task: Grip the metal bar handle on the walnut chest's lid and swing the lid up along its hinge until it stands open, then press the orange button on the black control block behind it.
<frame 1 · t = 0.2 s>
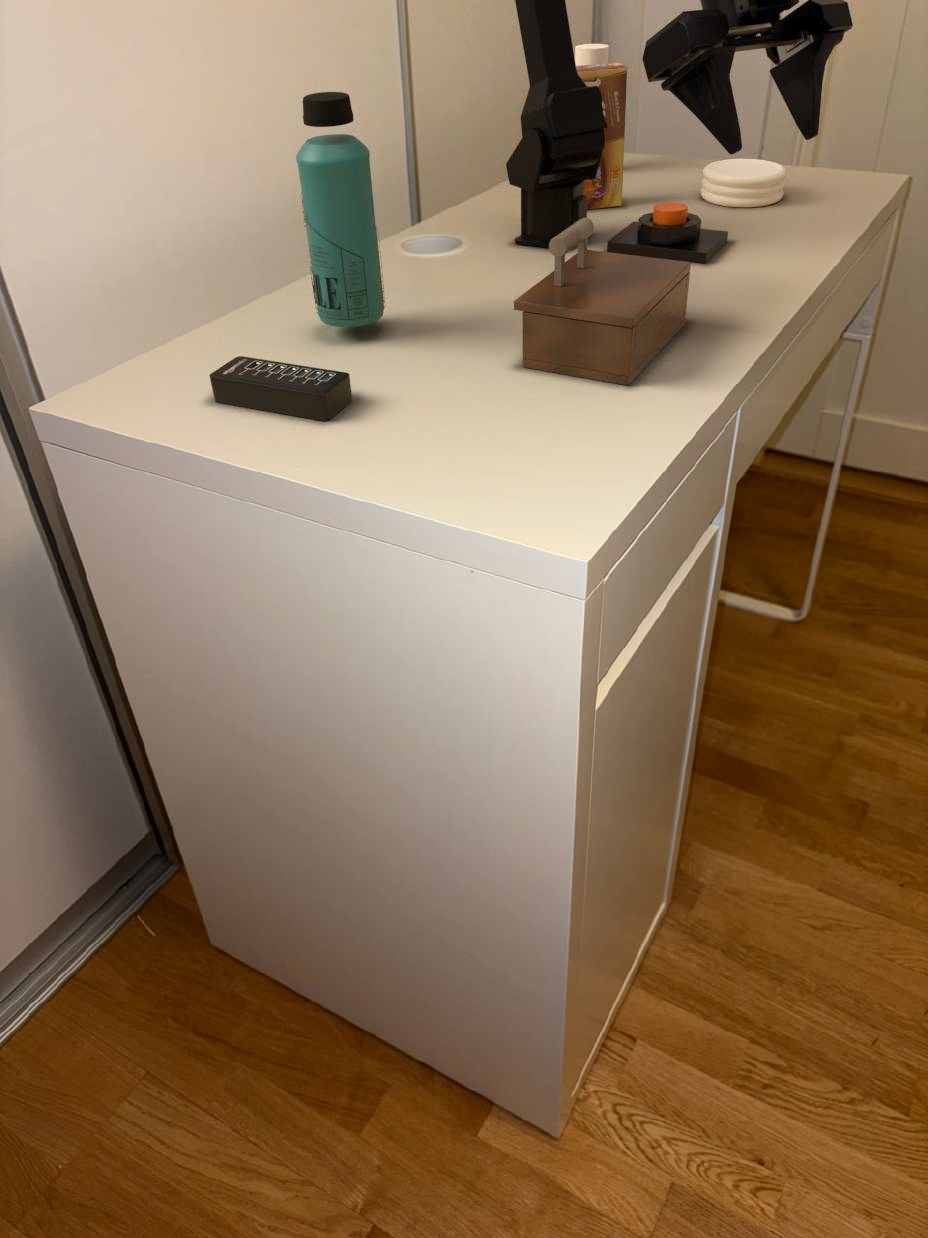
hand: (775, 144, 82), 15 cm above the table, tool tilted 30°, fingers open, 9 cm apart
candy box: (582, 207, 123), on the table
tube: (587, 172, 136), on the table
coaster: (740, 199, 123), on the table
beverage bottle: (352, 332, 93), on the table
control block: (667, 247, 109), on the table
multiport hub: (283, 402, 81), on the table
chest: (606, 344, 88), on the table
chest lid: (606, 260, 84), point 7 cm above the table, hinge at 0.0°
power button: (670, 214, 107), point 3 cm above the table, slide at 0.1 cm
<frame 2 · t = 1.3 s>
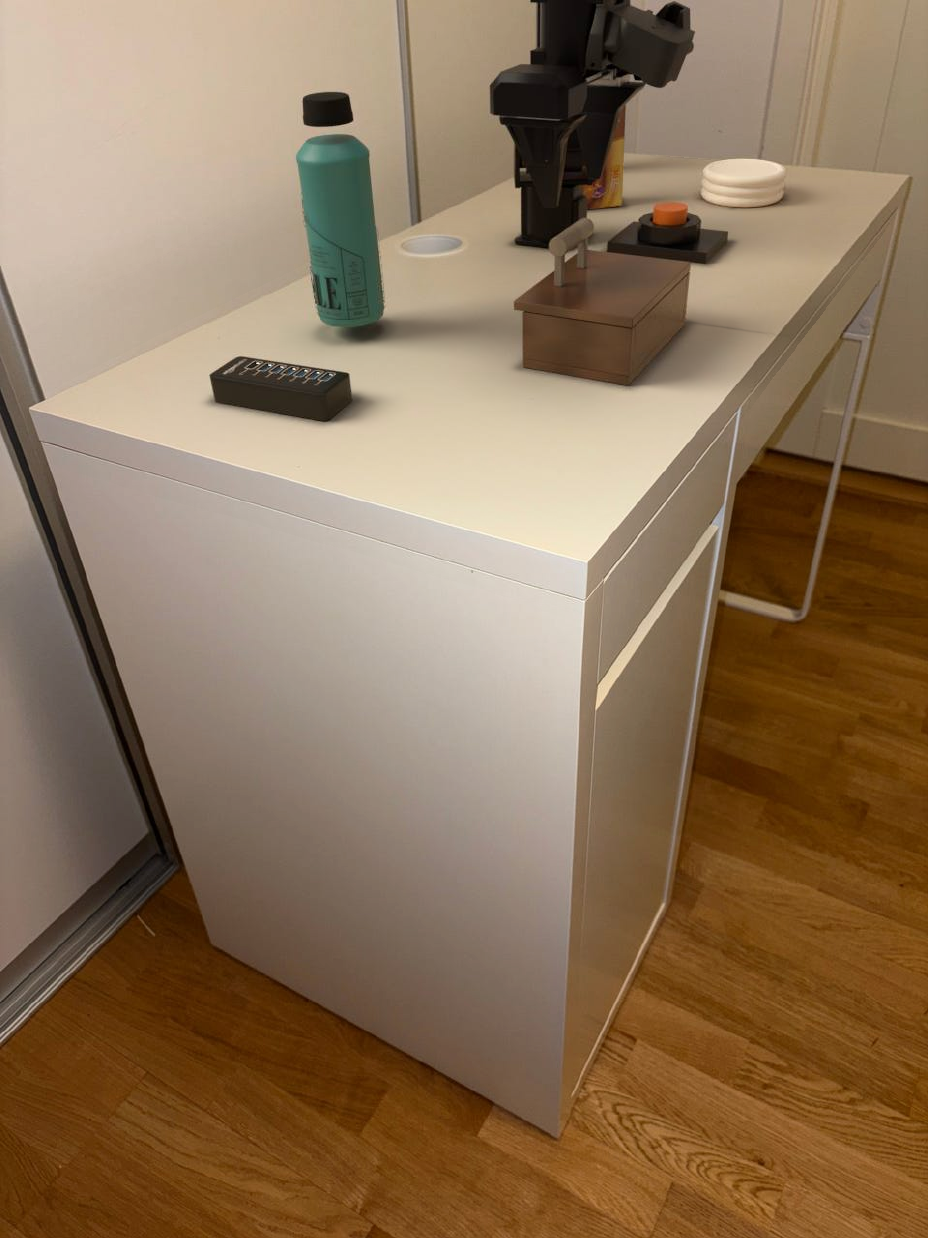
hand: (573, 192, 82), 13 cm above the table, tool pointing down, fingers open, 9 cm apart
nothing on the table moved.
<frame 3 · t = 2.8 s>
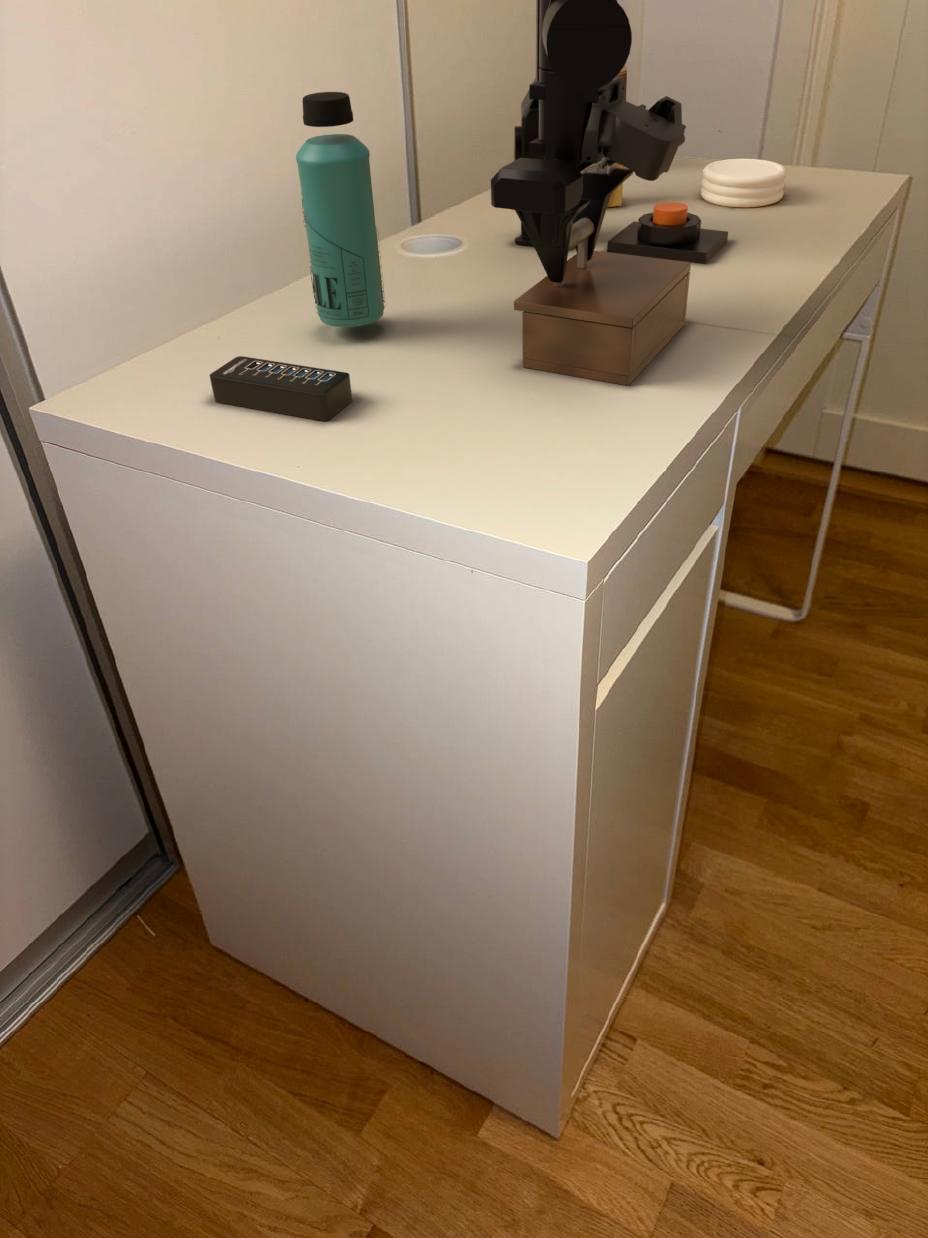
hand: (570, 270, 86), 6 cm above the table, tool pointing down, fingers closed on chest lid, 6 cm apart
chest lid: (606, 260, 84), point 7 cm above the table, hinge at 0.0°, touching gripper
everything else where it was.
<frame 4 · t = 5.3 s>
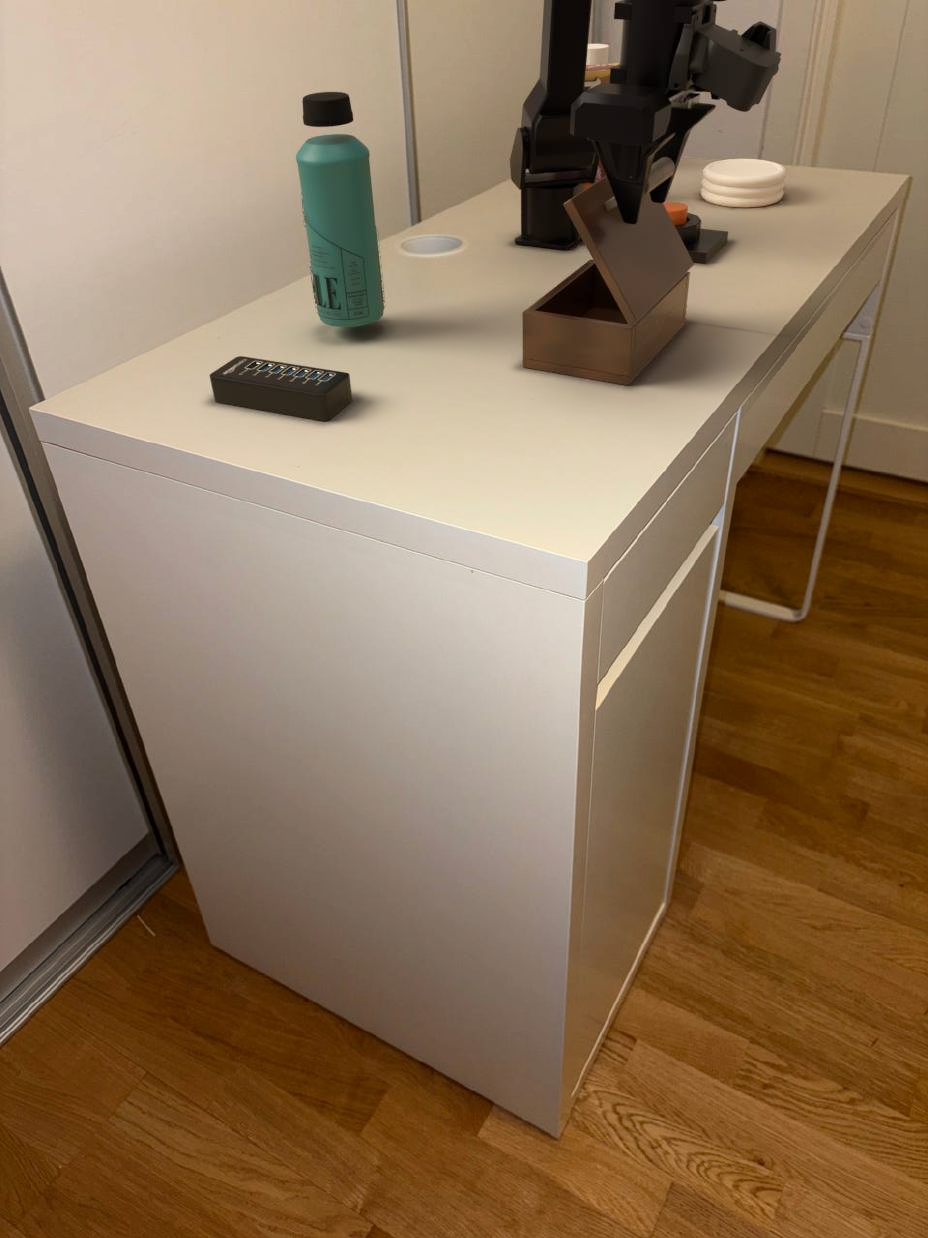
hand: (644, 212, 80), 12 cm above the table, tool pointing down, fingers closed on chest lid, 6 cm apart
chest lid: (654, 224, 80), point 11 cm above the table, hinge at 55.8°, touching gripper
everything else where it was.
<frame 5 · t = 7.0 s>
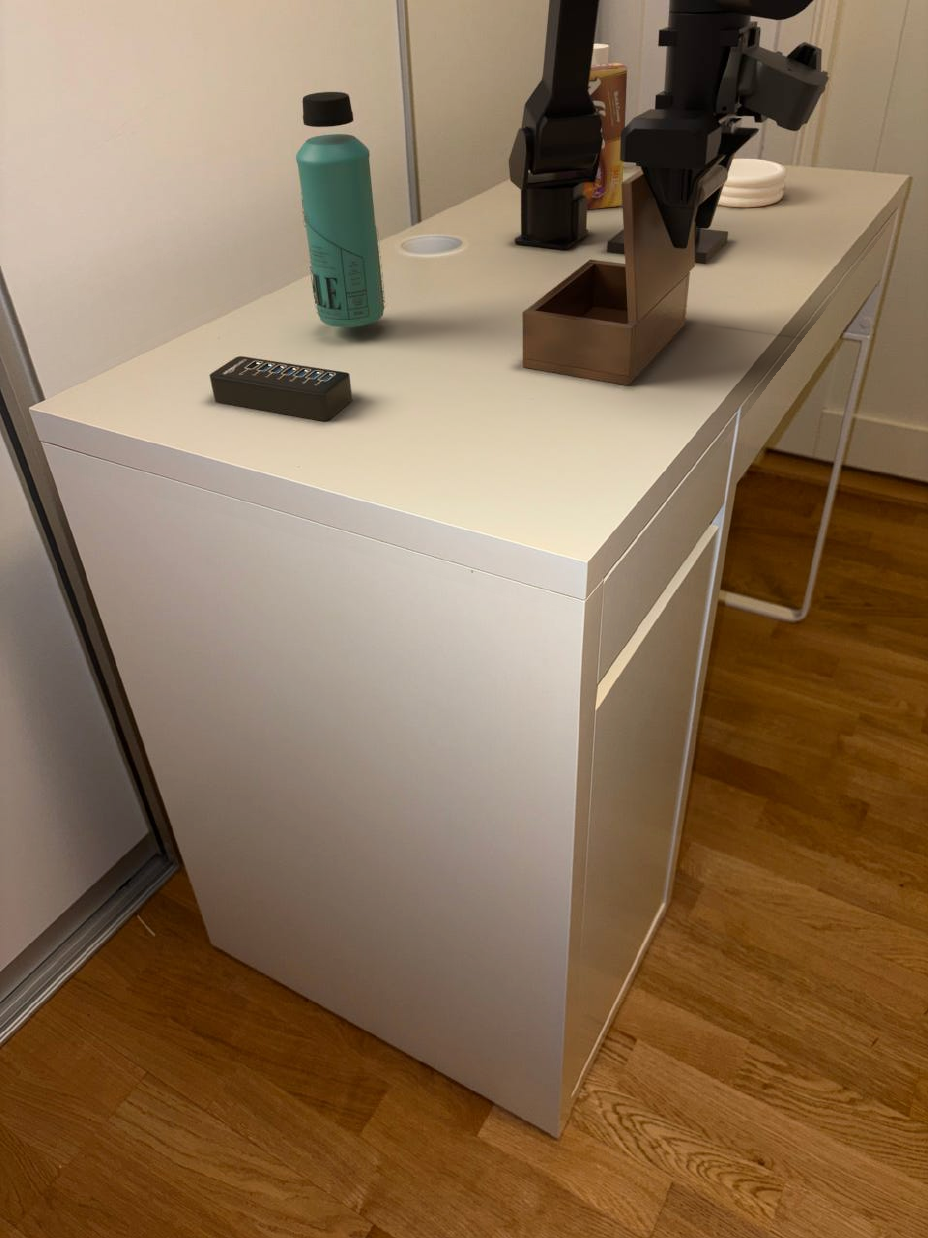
hand: (692, 237, 79), 10 cm above the table, tool pointing down, fingers closed on chest lid, 5 cm apart
chest lid: (686, 228, 79), point 11 cm above the table, hinge at 83.3°, touching gripper
everything else where it was.
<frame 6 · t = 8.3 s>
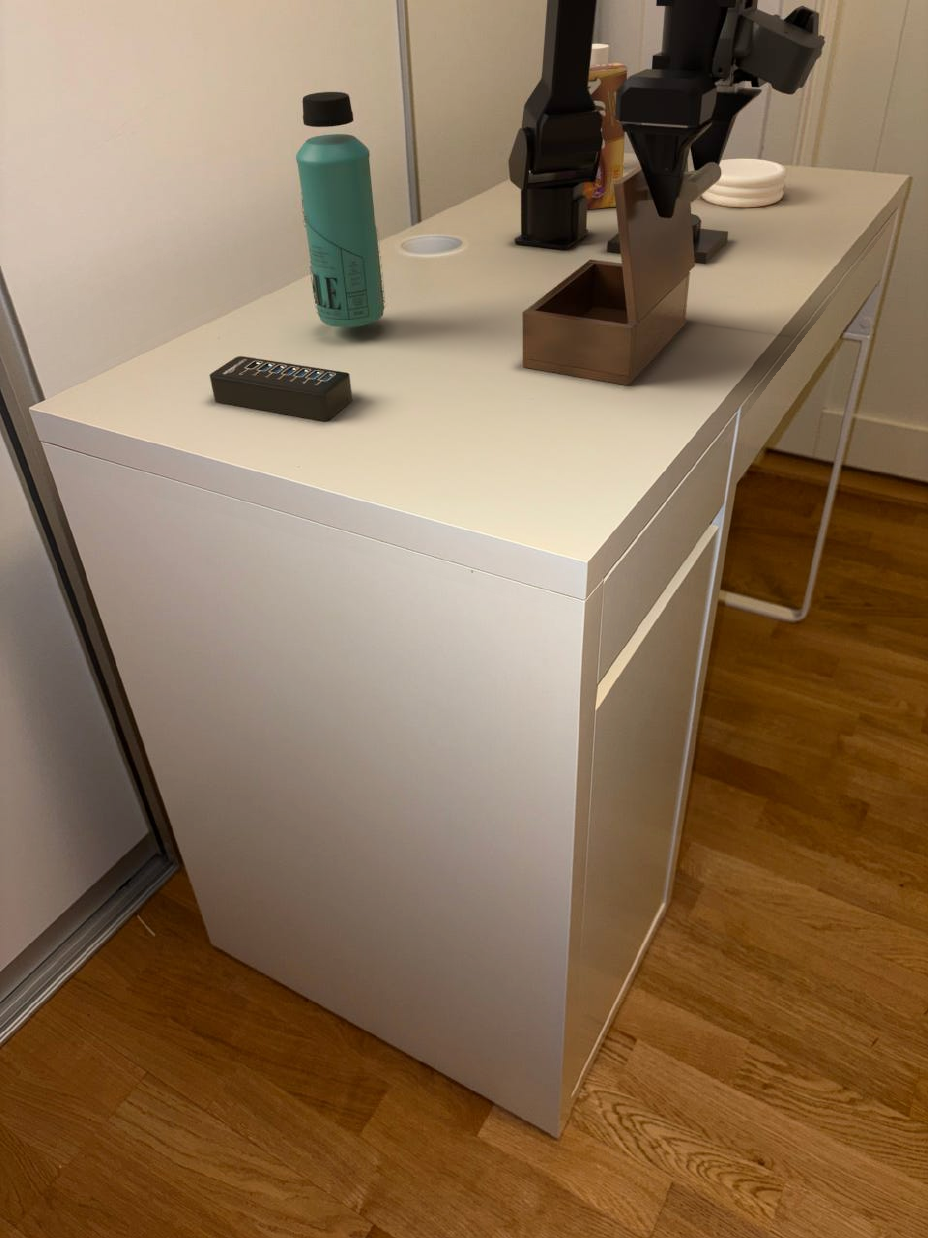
hand: (686, 201, 79), 12 cm above the table, tool pointing down, fingers open, 9 cm apart
chest lid: (682, 226, 79), point 11 cm above the table, hinge at 79.8°, touching gripper
everything else where it was.
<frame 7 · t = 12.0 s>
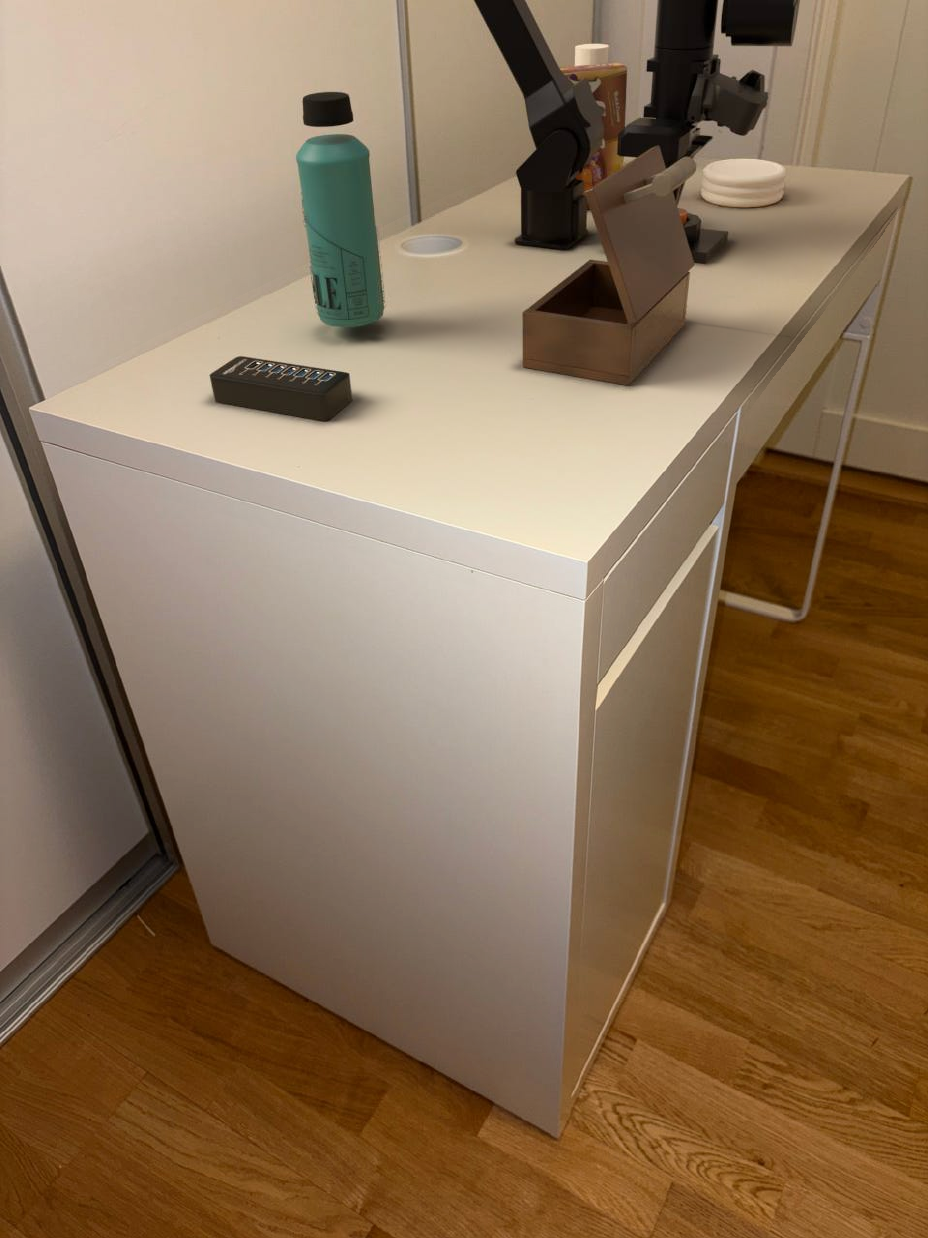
hand: (669, 211, 106), 4 cm above the table, tool pointing down, fingers closed, pressing on power button
chest lid: (667, 223, 79), point 11 cm above the table, hinge at 66.7°
power button: (669, 220, 107), point 3 cm above the table, slide at -0.5 cm, touching gripper
everything else where it was.
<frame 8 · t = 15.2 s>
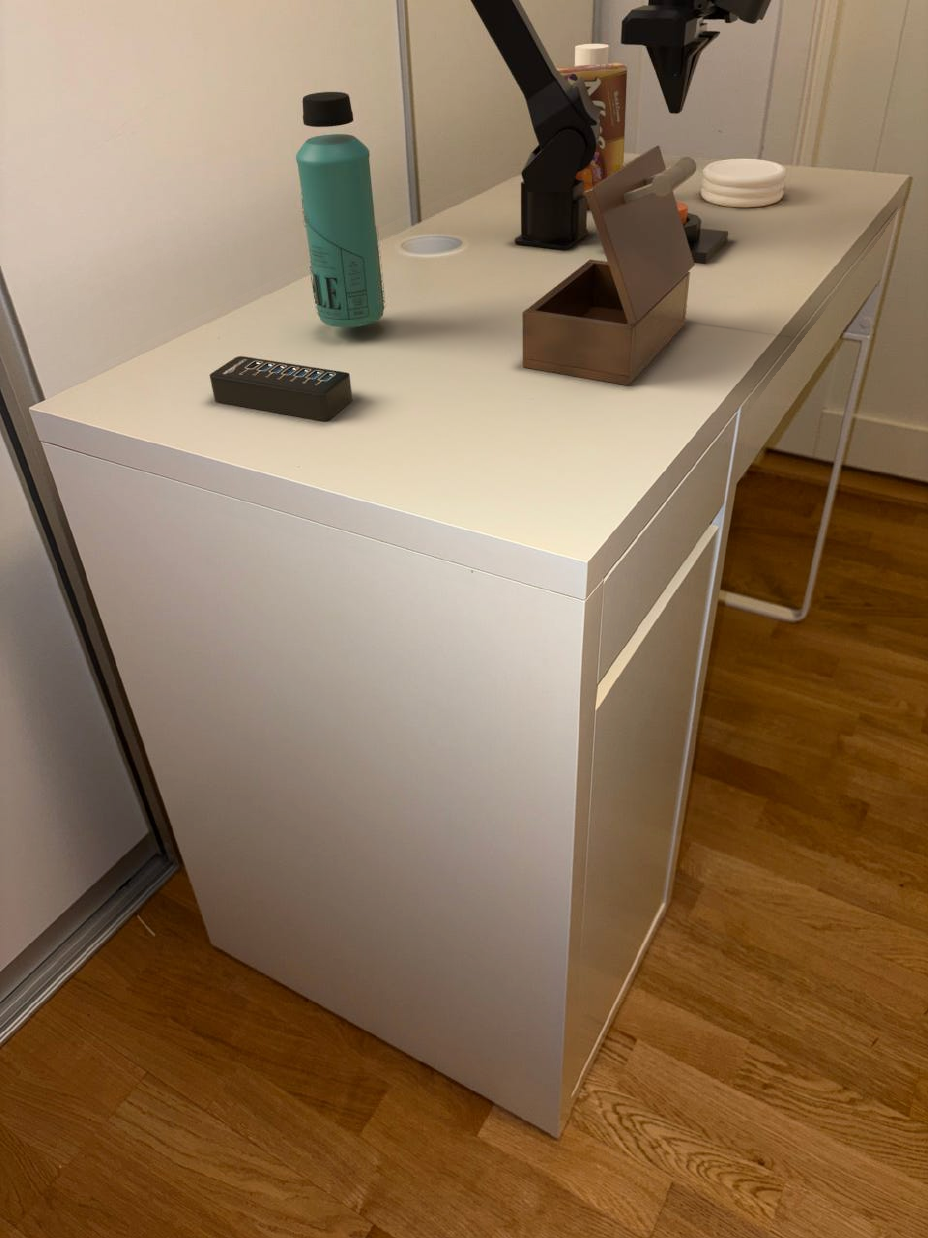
hand: (675, 112, 103), 13 cm above the table, tool pointing down, fingers closed
power button: (670, 214, 107), point 3 cm above the table, slide at 0.1 cm
everything else where it was.
at the end: chest lid at +67° (first picture: +0°); power button pushed in 1.2 cm at the most during the clip, back to where it started at the end; power button slide at 0.1 cm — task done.
